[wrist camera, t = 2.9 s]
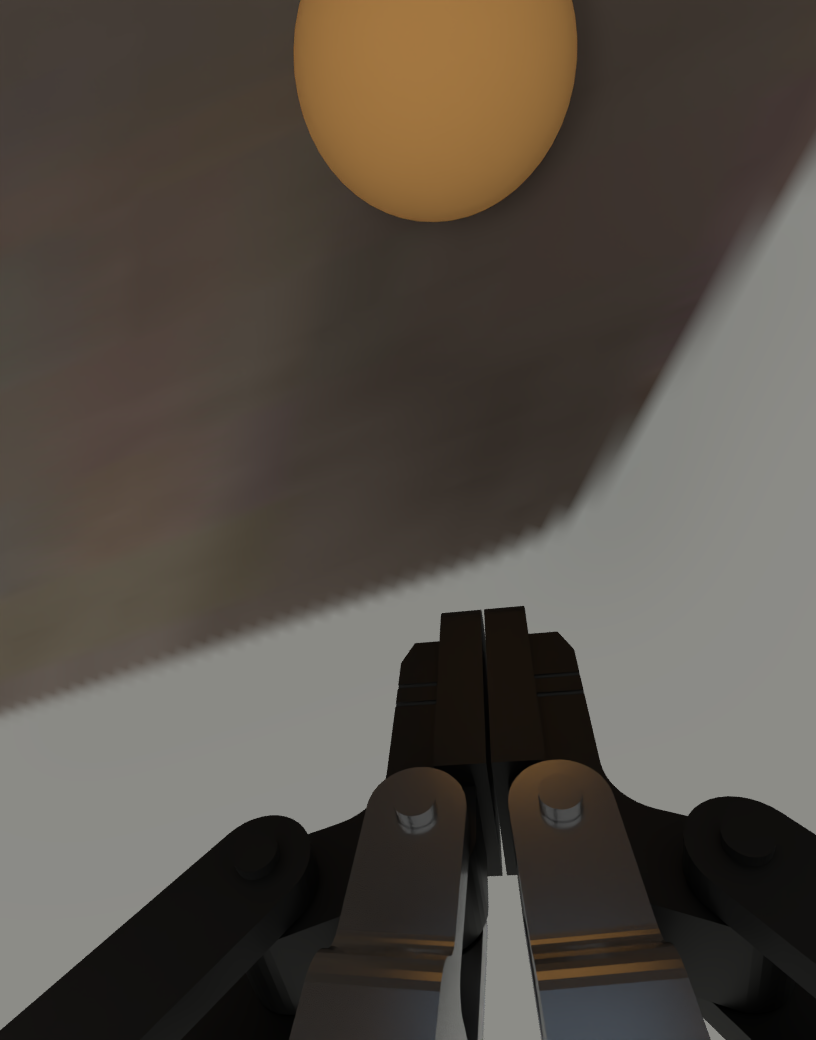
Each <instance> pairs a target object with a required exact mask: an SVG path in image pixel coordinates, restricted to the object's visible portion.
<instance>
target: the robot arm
mask: <svg viewBox="0 0 816 1040" xmlns="http://www.w3.org/2000/svg"><path fill="white" fill-rule="evenodd" d="M484 615H485V632H484V624H483V617H482V611H481V610H474V611H462V612H450V613H442V614H441V625H440V641H438V642H426V643H415V644H414V646H413V647H412V648H411V650H410V651H409V653H408V654H407V656H406V657H405V658H404V660H403V661H402V663H401V669H400V677H399V684H398V685H399V689H398V692H397V700H396V708H395V715H394V723H393V730H392V738H391V746H390V753H389V761H388V769H387V775H386V779H385V780H384V781H383V782H382V783H381V784H380V785H378V787H377V788H376V789H375V790H374V792H373V793H372V795H371V797H370V799H369V801H368V804H367V808H366V809H365V810H363V811H362V812H361V813H360V814H358V815H356V816H354V817H353V818H351V819H349V820H347V821H344V822H342V823H339V824H336V825H334V826H331V827H328V828H325V829H322V830H319V831H316V832H313V833H310V834H307V832H306V831H305V829H304V828H303V827H302V826H301V825H300V824H299V823H298V822H296V821H295V820H293V819H291V818H288V817H284V816H278V815H272V816H271V815H270V816H264V817H260V818H256V819H253V820H251V821H248V822H246V823H244V824H242V825H241V826H239V827H237V828H236V829H235V830H233V831H232V832H231V833H229V834H228V835H227V836H226V837H225V838H224V839H222V840H221V841H220V842H219V843H218V844H217V845H215V846H214V847H213V848H212V849H211V850H210V851H208V852H207V853H206V854H205V855H204V856H203V857H201V858H200V859H199V860H198V861H197V862H196V863H194V864H193V865H192V866H191V867H190V868H189V869H187V870H186V871H185V872H184V873H183V874H182V875H180V876H179V877H178V878H177V879H176V880H175V881H174V882H172V883H171V884H170V885H169V886H168V887H167V888H165V889H164V890H163V891H162V892H161V893H160V894H158V895H157V896H156V897H155V898H154V899H153V900H152V901H150V902H149V903H148V904H147V905H146V906H144V907H143V908H142V909H141V910H140V911H139V912H138V913H136V914H135V915H134V916H133V917H132V918H131V919H129V920H128V921H127V922H126V923H125V924H123V925H122V926H121V927H120V928H119V929H118V930H116V931H115V932H114V933H113V934H112V935H111V936H109V937H108V938H107V939H106V940H105V941H104V942H103V943H102V944H100V945H99V946H98V947H97V948H96V949H94V950H93V951H92V952H91V953H90V954H89V955H87V956H86V957H85V958H84V959H83V960H82V961H81V962H79V963H78V964H77V965H76V966H75V967H73V968H72V969H71V970H70V971H69V972H68V973H66V974H65V975H64V976H63V977H62V978H61V979H59V981H57V982H56V983H55V984H54V985H53V986H51V987H50V988H49V989H48V990H47V991H46V992H44V993H43V994H42V995H41V996H40V997H39V998H37V999H36V1000H35V1001H34V1002H33V1003H32V1004H30V1005H29V1006H28V1007H27V1008H26V1009H25V1010H24V1011H22V1012H21V1013H20V1014H19V1015H18V1016H17V1017H15V1018H14V1019H13V1020H12V1021H11V1022H9V1023H8V1024H7V1025H6V1026H5V1027H4V1028H2V1029H1V1030H0V1040H483V1029H484V1006H485V985H486V961H487V939H488V930H487V929H488V928H487V916H488V881H487V880H488V879H487V876H502V857H501V839H500V829H501V836H502V843H503V850H504V857H505V864H506V871H507V875H518V883H519V891H520V899H521V906H522V914H523V922H524V930H525V936H526V943H527V949H528V956H529V962H530V969H531V975H532V981H533V988H534V994H535V1001H536V1007H537V1013H538V1020H539V1027H540V1033H541V1040H710V1037H709V1034H708V1031H707V1028H706V1025H705V1023H704V1020H703V1018H704V1019H705V1020H706V1021H707V1022H708V1023H709V1024H710V1025H711V1026H712V1027H713V1028H714V1029H716V1031H717V1032H718V1033H719V1034H720V1035H721V1036H722V1037H723V1038H725V1039H726V1040H816V835H815V834H814V833H812V832H811V831H809V830H807V829H806V828H804V827H803V826H801V825H800V824H798V823H797V822H795V821H793V820H792V819H790V818H789V817H787V816H786V815H784V814H783V813H781V812H779V811H778V810H776V809H774V808H772V807H771V806H768V805H766V804H763V803H761V802H758V801H755V800H752V799H748V798H742V797H729V796H727V797H717V798H714V799H709V800H707V801H705V802H703V803H701V804H699V805H698V806H697V807H695V808H694V809H693V810H692V811H691V813H690V814H689V816H685V815H681V814H676V813H672V812H668V811H663V810H659V809H655V808H652V807H648V806H645V805H643V804H641V803H638V802H636V801H634V800H632V799H631V798H629V797H627V796H626V795H624V794H623V793H621V792H620V791H619V790H618V789H617V788H616V787H615V786H614V785H613V784H612V783H611V782H610V781H609V779H608V778H607V777H606V775H605V773H604V771H603V769H602V766H601V763H600V760H599V755H598V751H597V747H596V742H595V738H594V734H593V729H592V725H591V721H590V716H589V712H588V708H587V704H586V699H585V695H584V692H583V686H582V682H581V678H580V675H579V669H578V665H577V660H576V656H575V652H574V649H573V648H572V647H571V646H570V645H569V644H568V642H567V641H566V640H565V639H564V638H563V637H562V636H561V635H560V634H559V633H558V632H547V633H535V634H528V629H527V622H526V614H525V608H524V606H518V607H506V608H495V609H485V610H484ZM485 638H486V640H485Z"/></svg>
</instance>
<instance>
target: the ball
mask: <svg viewBox="0 0 816 1040" xmlns="http://www.w3.org/2000/svg"><path fill="white" fill-rule="evenodd" d="M293 51H294V73H295V80H296V87H297V94H298V98H299V102H300V106H301V110H302V113H303V117H304V120H305V122H306V125H307V127H308V130H309V133H310V135H311V137H312V139H313V141H314V143H315V145H316V147H317V149H318V151H319V153H320V154H321V156H322V157H323V159H324V160H325V162H326V163H327V165H328V166H329V168H330V169H331V170H332V171H333V173H334V174H335V175H336V176H337V177H338V178H339V180H340V181H341V182H342V183H343V184H344V185H345V186H346V187H347V188H349V189H350V190H351V191H352V192H353V193H354V194H355V195H356V196H358V197H359V198H361V199H362V200H364V201H365V202H367V203H368V204H370V205H371V206H373V207H375V208H377V209H379V210H381V211H383V212H385V213H388V214H391V215H394V216H397V217H400V218H403V219H408V220H413V221H420V222H442V221H452V220H456V219H460V218H464V217H468V216H471V215H474V214H476V213H479V212H481V211H484V210H486V209H488V208H489V207H491V206H493V205H495V204H496V203H498V202H500V201H501V200H503V199H504V198H505V197H507V196H508V195H509V194H511V193H512V192H513V191H515V190H516V189H517V188H518V187H519V186H520V185H521V184H522V183H523V182H524V181H525V180H526V179H527V178H528V177H529V176H530V175H531V174H532V172H533V171H534V170H535V169H536V168H537V166H538V165H539V164H540V163H541V161H542V160H543V158H544V157H545V155H546V154H547V152H548V150H549V149H550V147H551V146H552V144H553V142H554V140H555V138H556V136H557V134H558V132H559V130H560V128H561V126H562V123H563V120H564V117H565V115H566V112H567V109H568V106H569V103H570V98H571V94H572V90H573V86H574V80H575V72H576V64H577V30H576V19H575V12H574V8H573V3H572V0H300V4H299V8H298V14H297V19H296V25H295V35H294V50H293Z"/></svg>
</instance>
